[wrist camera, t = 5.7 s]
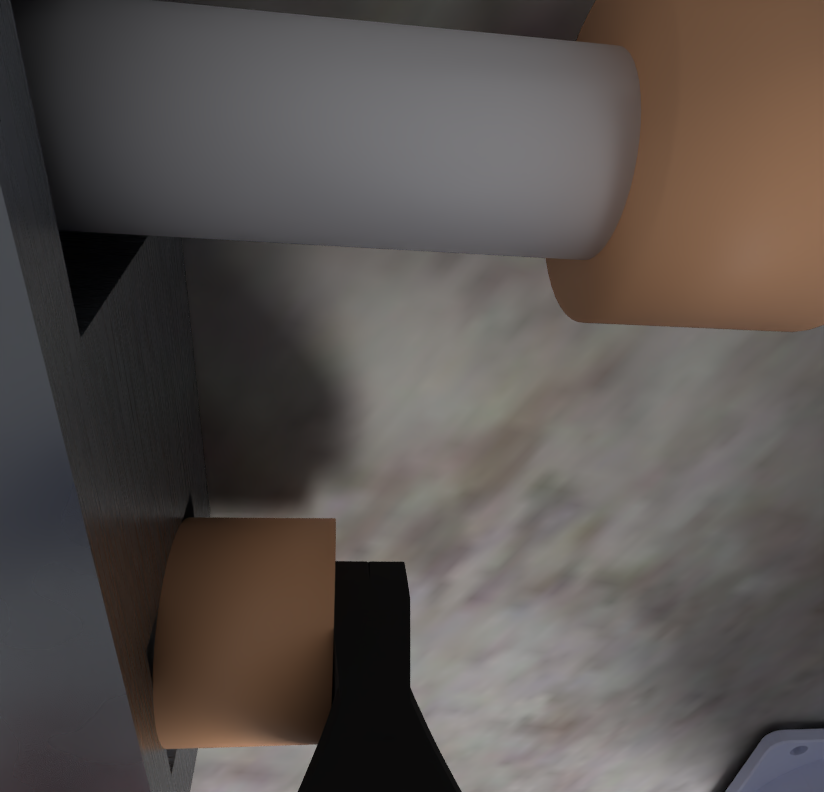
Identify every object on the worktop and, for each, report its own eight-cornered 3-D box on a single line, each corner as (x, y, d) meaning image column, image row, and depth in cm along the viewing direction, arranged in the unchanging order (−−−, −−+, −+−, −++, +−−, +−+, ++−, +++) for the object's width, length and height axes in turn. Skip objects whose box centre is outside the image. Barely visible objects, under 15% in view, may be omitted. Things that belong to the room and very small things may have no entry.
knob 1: (336, 475, 12) (333, 653, 9) (331, 607, 14) (327, 787, 11) (-164, 468, 11) (-353, 663, 8) (-93, 611, 13) (-223, 809, 10)
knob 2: (782, -19, 8) (1033, 6, 5) (688, 259, 10) (829, 392, 7) (76, -99, 7) (-112, -125, 4) (125, 226, 9) (20, 365, 6)
